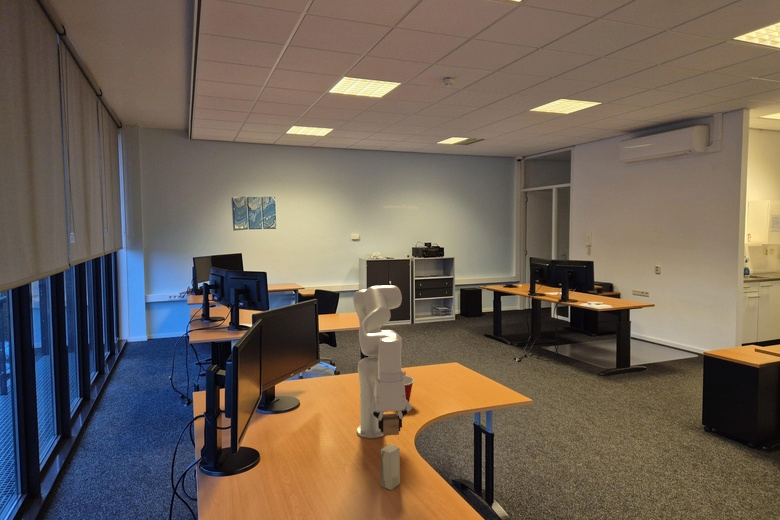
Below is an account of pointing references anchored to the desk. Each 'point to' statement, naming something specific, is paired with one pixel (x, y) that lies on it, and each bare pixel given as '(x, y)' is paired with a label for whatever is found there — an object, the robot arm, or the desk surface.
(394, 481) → the box
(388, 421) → the walnut cube
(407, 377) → the plastic cup
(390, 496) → the desk surface
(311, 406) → the desk surface
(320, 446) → the desk surface
